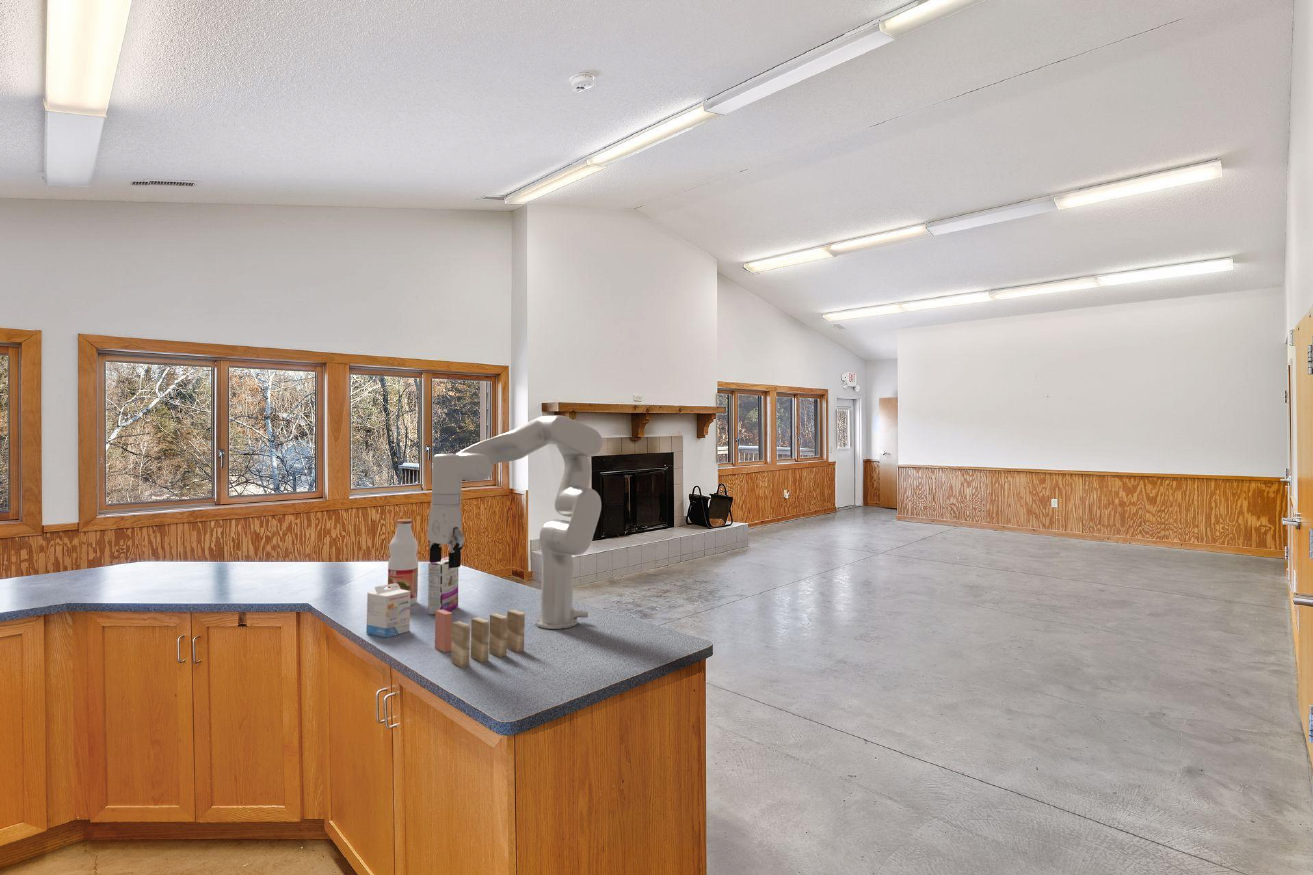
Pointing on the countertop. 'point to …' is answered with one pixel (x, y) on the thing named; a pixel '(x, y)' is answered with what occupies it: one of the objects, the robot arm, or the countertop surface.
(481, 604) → the countertop surface
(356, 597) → the countertop surface
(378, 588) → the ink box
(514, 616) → the domino
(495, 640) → the domino
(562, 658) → the countertop surface
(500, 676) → the countertop surface
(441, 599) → the candy bar box
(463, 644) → the domino
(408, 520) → the fruit juice
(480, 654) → the domino
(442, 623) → the domino
